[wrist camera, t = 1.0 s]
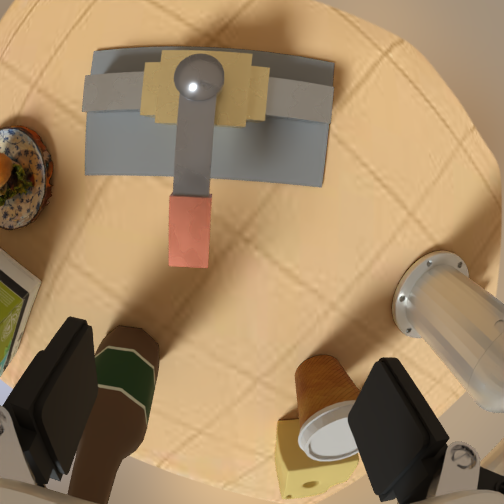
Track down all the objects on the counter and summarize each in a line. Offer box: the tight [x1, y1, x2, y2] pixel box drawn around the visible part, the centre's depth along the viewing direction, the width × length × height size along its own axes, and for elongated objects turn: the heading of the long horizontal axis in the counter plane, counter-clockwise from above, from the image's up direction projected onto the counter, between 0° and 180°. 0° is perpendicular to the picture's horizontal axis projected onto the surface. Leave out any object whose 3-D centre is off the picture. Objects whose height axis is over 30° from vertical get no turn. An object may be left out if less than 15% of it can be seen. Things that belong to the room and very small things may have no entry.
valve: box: [82, 50, 334, 128], centre depth 24 cm, size 22×6×8 cm, turn 85°
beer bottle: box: [68, 326, 159, 504], centre depth 26 cm, size 8×8×24 cm
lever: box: [169, 54, 224, 268], centre depth 21 cm, size 15×3×2 cm, turn 175°
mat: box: [85, 47, 334, 187], centre depth 28 cm, size 24×13×1 cm, turn 85°
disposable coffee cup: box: [295, 355, 360, 461], centre depth 35 cm, size 10×10×12 cm
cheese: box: [275, 419, 359, 499], centre depth 41 cm, size 10×11×10 cm
